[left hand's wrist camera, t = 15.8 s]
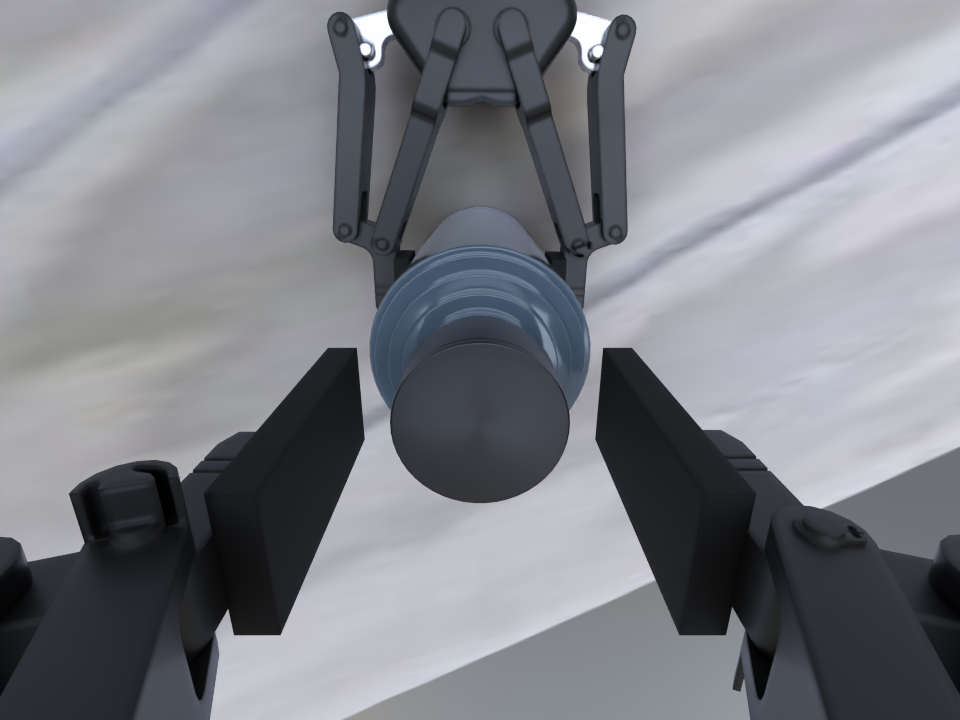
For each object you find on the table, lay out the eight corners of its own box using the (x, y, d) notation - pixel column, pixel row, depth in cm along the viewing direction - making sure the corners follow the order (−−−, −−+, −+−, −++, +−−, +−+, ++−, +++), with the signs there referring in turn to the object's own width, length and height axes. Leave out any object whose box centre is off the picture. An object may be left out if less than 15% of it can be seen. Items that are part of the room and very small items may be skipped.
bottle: (554, 234, 33) (682, 343, 12) (508, 334, 35) (549, 570, 14) (448, 187, 32) (389, 219, 11) (408, 294, 34) (297, 485, 13)
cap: (404, 311, 13) (390, 336, 11) (566, 321, 14) (581, 348, 12) (401, 454, 15) (389, 498, 13) (547, 462, 15) (558, 508, 13)
